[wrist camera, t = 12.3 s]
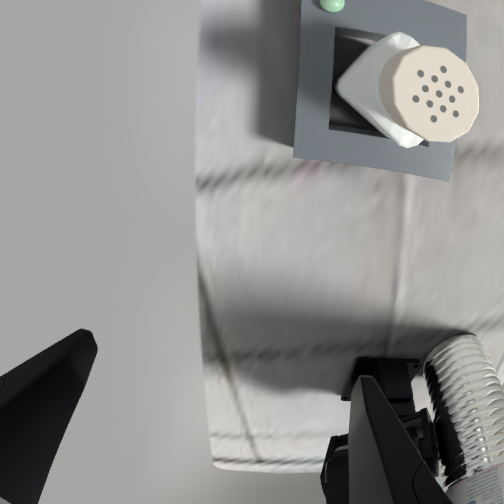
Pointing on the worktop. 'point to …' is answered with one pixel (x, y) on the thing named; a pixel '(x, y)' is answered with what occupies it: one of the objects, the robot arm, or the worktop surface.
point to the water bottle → (467, 419)
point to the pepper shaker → (411, 90)
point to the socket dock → (321, 72)
